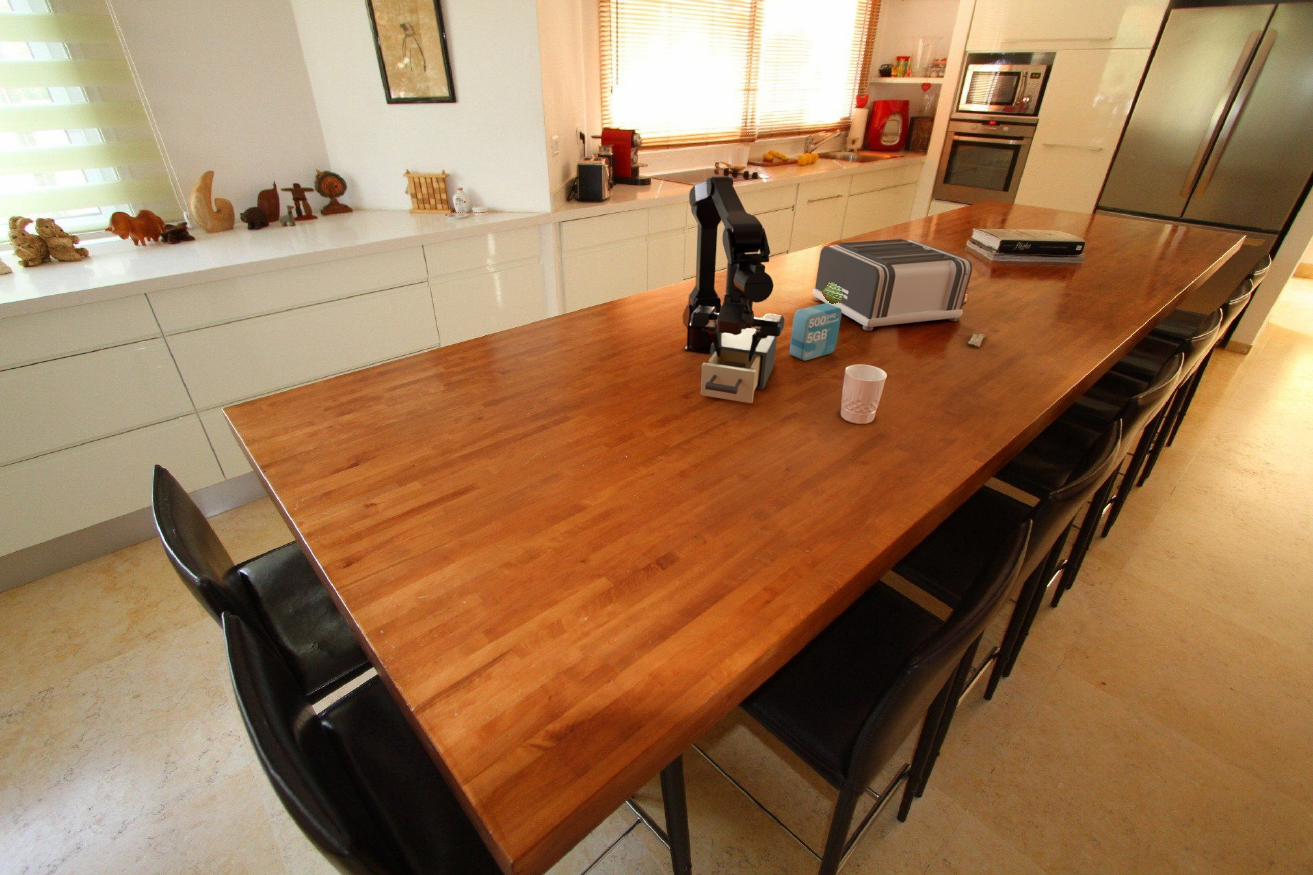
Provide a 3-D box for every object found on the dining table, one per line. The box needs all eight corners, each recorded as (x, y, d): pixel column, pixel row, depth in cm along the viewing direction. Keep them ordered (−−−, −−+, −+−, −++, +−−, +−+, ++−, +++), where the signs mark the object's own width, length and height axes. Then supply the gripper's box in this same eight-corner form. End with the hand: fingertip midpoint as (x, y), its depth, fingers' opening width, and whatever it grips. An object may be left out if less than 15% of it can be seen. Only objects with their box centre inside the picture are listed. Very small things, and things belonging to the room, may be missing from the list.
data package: (801, 362, 146) (807, 315, 140) (788, 356, 149) (794, 310, 143) (835, 352, 151) (843, 307, 145) (822, 346, 155) (829, 302, 148)
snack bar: (980, 346, 153) (969, 340, 154) (976, 351, 154) (965, 345, 155) (986, 334, 160) (976, 329, 161) (982, 339, 161) (972, 333, 162)
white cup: (856, 429, 118) (865, 383, 112) (829, 412, 124) (836, 368, 118) (885, 420, 121) (895, 376, 116) (857, 404, 127) (866, 361, 122)
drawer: (745, 415, 120) (748, 383, 117) (692, 406, 124) (694, 375, 120) (763, 379, 135) (766, 350, 131) (715, 372, 138) (717, 343, 135)
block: (724, 379, 133) (725, 360, 130) (744, 382, 131) (745, 363, 129) (719, 387, 129) (720, 368, 127) (739, 390, 128) (741, 371, 125)
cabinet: (762, 390, 132) (766, 352, 128) (708, 381, 136) (711, 345, 131) (773, 366, 143) (777, 331, 139) (723, 359, 147) (726, 325, 142)
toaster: (971, 320, 172) (990, 258, 163) (865, 332, 164) (878, 267, 154) (905, 290, 198) (917, 234, 188) (810, 298, 189) (818, 241, 180)
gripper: (683, 293, 115) (681, 366, 123) (779, 304, 110) (770, 380, 118) (699, 278, 124) (696, 347, 132) (788, 287, 119) (780, 359, 127)
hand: (734, 358), depth 127 cm, fingers open, 6 cm apart
